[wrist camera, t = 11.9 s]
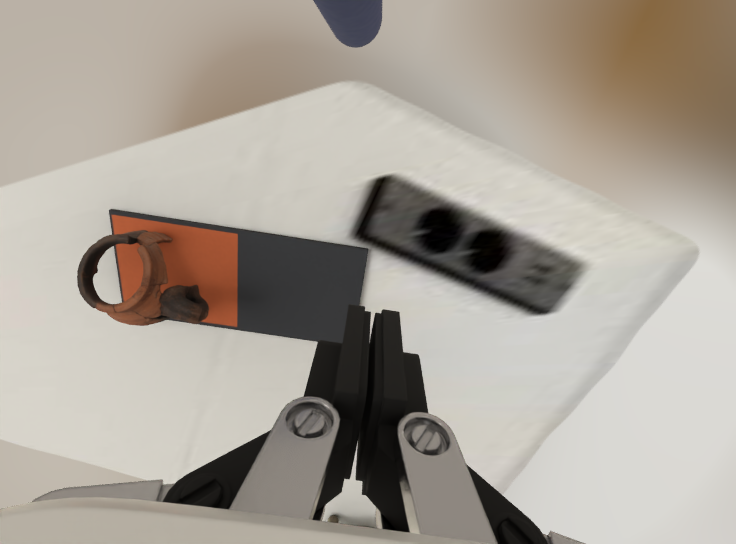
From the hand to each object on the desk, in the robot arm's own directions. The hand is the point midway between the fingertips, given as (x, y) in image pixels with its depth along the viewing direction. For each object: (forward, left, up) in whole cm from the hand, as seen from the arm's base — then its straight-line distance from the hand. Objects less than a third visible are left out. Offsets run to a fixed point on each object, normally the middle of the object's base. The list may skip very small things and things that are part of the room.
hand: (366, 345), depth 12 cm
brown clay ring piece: (+12, -20, -25) cm, 34 cm away
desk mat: (+12, -13, -25) cm, 30 cm away
